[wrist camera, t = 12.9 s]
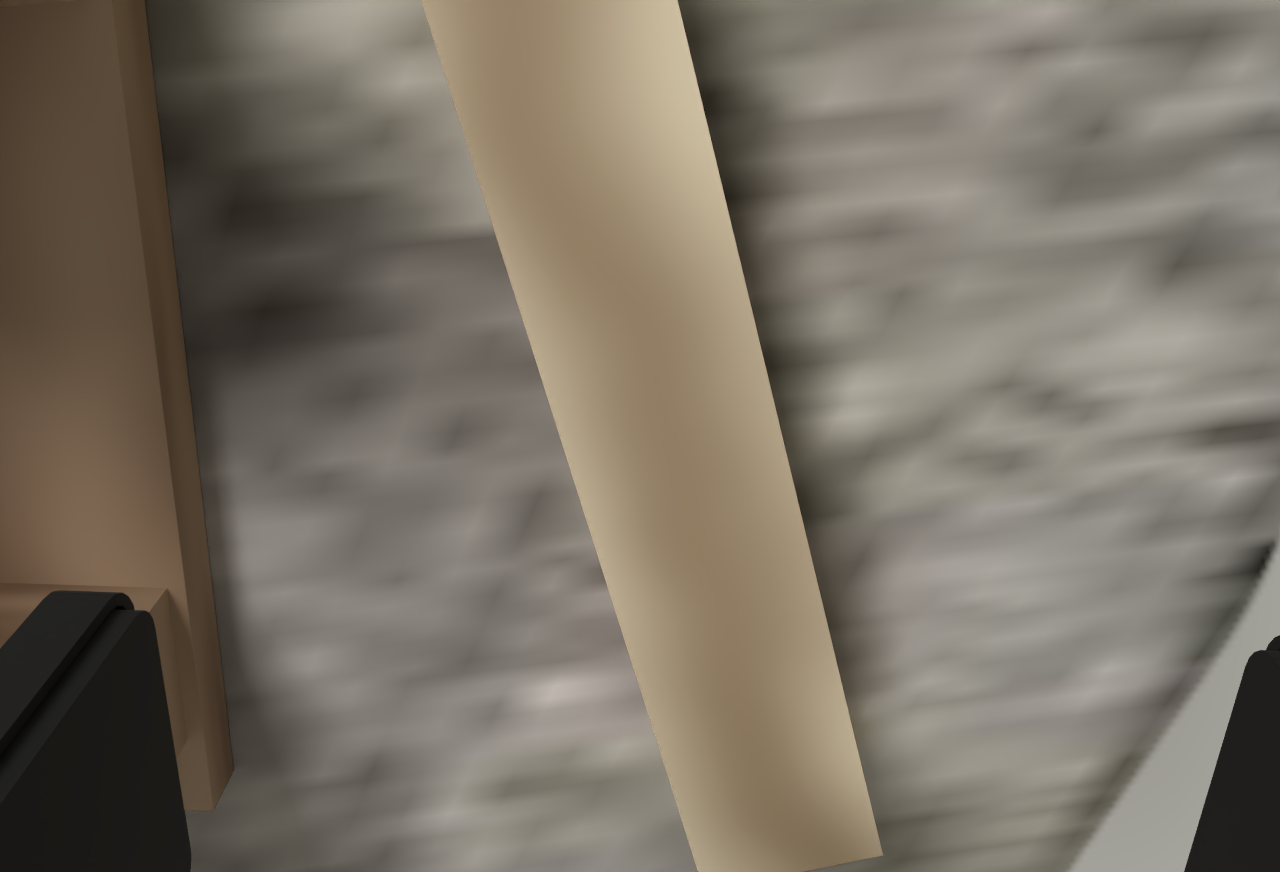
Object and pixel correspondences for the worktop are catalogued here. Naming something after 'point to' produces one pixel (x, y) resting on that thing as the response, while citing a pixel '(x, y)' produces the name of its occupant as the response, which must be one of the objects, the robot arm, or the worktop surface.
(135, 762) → the robot arm
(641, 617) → the maple bar
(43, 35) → the walnut rack
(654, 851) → the worktop surface
